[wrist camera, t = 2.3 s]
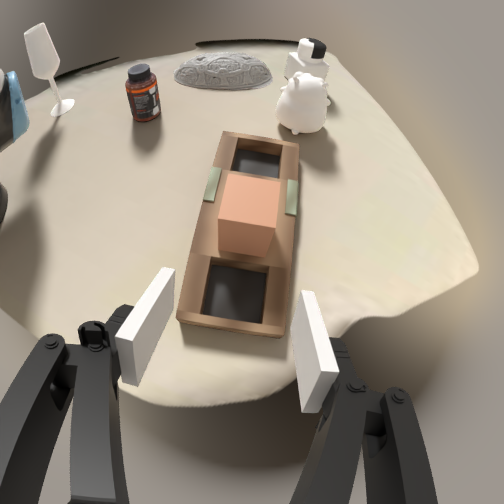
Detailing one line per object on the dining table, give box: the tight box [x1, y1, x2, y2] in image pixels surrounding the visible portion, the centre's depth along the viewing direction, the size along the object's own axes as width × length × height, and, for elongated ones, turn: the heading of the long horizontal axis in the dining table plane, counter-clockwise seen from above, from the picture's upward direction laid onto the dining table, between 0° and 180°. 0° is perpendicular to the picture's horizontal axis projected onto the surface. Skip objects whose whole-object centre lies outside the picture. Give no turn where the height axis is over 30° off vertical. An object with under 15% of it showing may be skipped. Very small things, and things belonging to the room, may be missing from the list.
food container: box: [174, 52, 273, 90], centre depth 56 cm, size 16×25×7 cm, turn 93°
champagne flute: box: [24, 23, 74, 117], centre depth 39 cm, size 7×7×24 cm
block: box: [218, 174, 281, 258], centre depth 34 cm, size 6×6×8 cm
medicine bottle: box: [284, 38, 329, 82], centre depth 54 cm, size 7×7×12 cm
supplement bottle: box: [125, 64, 161, 121], centre depth 45 cm, size 6×6×11 cm
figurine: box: [276, 72, 331, 135], centre depth 46 cm, size 10×10×12 cm
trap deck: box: [176, 131, 299, 338], centre depth 40 cm, size 13×31×3 cm, turn 172°
